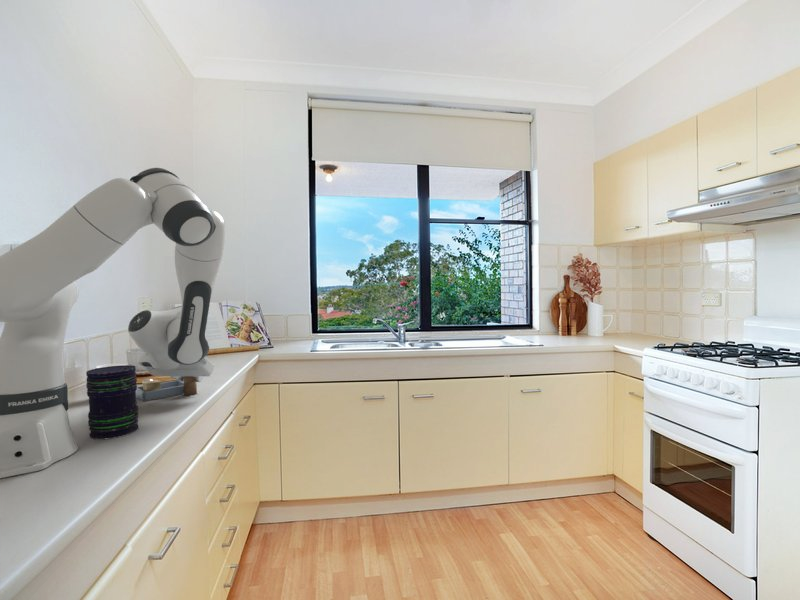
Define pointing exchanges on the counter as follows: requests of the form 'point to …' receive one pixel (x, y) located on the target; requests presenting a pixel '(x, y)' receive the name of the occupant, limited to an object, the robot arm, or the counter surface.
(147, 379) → the silver dome cap
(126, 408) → the dark blue cylinder
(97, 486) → the counter surface
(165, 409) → the counter surface
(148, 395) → the tray
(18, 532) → the counter surface
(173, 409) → the counter surface
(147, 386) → the oak block
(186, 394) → the brown wooden peg
